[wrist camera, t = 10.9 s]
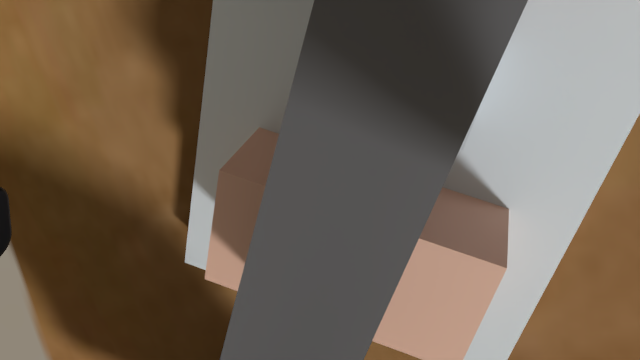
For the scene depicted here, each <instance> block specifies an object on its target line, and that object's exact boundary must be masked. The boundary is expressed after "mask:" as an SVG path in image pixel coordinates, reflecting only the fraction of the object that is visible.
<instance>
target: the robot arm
mask: <svg viewBox="0 0 640 360" xmlns="http://www.w3.org/2000/svg"><path fill="white" fill-rule="evenodd" d="M10 239H11V220H10V209H9V198H8V194H7V192H6V191H5V189H3V188H2V187H0V256H1V255H2V254H3V253H4V251H5V250H6V248H7V247H8V245H9V242H10Z"/></svg>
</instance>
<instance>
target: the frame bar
mask: <svg viewBox="0 0 640 360" xmlns="http://www.w3.org/2000/svg"><path fill="white" fill-rule="evenodd" d="M527 1H528V0H314V3H313V7H312V11H311V15H310V18H309V22H308V26H307V30H306V34H305V37H304V41H303V45H302V49H301V53H300V56H299V60H298V64H297V68H296V72H295V75H294V79H293V83H292V87H291V91H290V94H289V98H288V102H287V106H286V110H285V113H284V117H283V121H282V125H281V129H280V132H279V136H278V140H277V144H276V148H275V151H274V155H273V159H272V163H271V167H270V170H269V174H268V178H267V182H266V186H265V189H264V193H263V197H262V201H261V205H260V208H259V212H258V216H257V220H256V224H255V227H254V231H253V235H252V239H251V243H250V246H249V250H248V254H247V258H246V262H245V265H244V269H243V273H242V277H241V281H240V284H239V288H238V292H237V296H236V300H235V303H234V307H233V311H232V315H231V319H230V322H229V326H228V330H227V334H226V338H225V341H224V345H223V349H222V353H221V357H220V360H364V357H365V355H366V353H367V351H368V349H369V346H370V344H371V342H372V340H373V338H374V336H375V333H376V331H377V329H378V327H379V325H380V322H381V320H382V318H383V316H384V314H385V312H386V309H387V307H388V305H389V303H390V301H391V298H392V296H393V294H394V292H395V290H396V288H397V285H398V283H399V281H400V279H401V277H402V274H403V272H404V270H405V268H406V266H407V263H408V261H409V259H410V257H411V255H412V253H413V250H414V248H415V246H416V244H417V242H418V239H419V237H420V235H421V233H422V231H423V229H424V226H425V224H426V222H427V220H428V218H429V215H430V213H431V211H432V209H433V207H434V205H435V202H436V200H437V198H438V196H439V194H440V191H441V189H442V187H443V185H444V183H445V181H446V178H447V176H448V174H449V172H450V170H451V167H452V165H453V163H454V161H455V159H456V156H457V154H458V152H459V150H460V148H461V146H462V143H463V141H464V139H465V137H466V135H467V132H468V130H469V128H470V126H471V124H472V122H473V119H474V117H475V115H476V113H477V111H478V108H479V106H480V104H481V102H482V100H483V98H484V95H485V93H486V91H487V89H488V87H489V84H490V82H491V80H492V78H493V76H494V74H495V71H496V69H497V67H498V65H499V63H500V60H501V58H502V56H503V54H504V52H505V50H506V47H507V45H508V43H509V41H510V39H511V36H512V34H513V32H514V30H515V28H516V25H517V23H518V21H519V19H520V17H521V15H522V12H523V10H524V8H525V6H526V4H527Z"/></svg>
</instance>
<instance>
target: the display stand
mask: <svg viewBox="0 0 640 360" xmlns="http://www.w3.org/2000/svg"><path fill="white" fill-rule="evenodd" d="M313 3H314V0H213V6H212V15H211V24H210V33H209V42H208V52H207V61H206V70H205V79H204V88H203V98H202V107H201V116H200V125H199V134H198V143H197V153H196V162H195V171H194V180H193V189H192V199H191V208H190V217H189V226H188V235H187V245H186V254H185V263H187V264H190V265H193V266H196V267H198V268H201V269H204V270H206V273H205V279H206V280H209V281H211V282H214V283H217V284H219V285H222V286H225V287H227V288H230V289H233V290H236V291H238V288H239V284H240V281H241V277H242V273H243V269H244V265H245V262H246V258H247V254H248V250H249V246H250V243H251V239H252V235H253V231H254V227H255V224H256V220H257V216H258V212H259V208H260V205H261V201H262V197H263V193H264V189H265V186H266V182H267V178H268V174H269V170H270V167H271V163H272V159H273V155H274V151H275V148H276V144H277V140H278V136H279V132H280V129H281V125H282V121H283V117H284V113H285V110H286V106H287V102H288V98H289V94H290V91H291V87H292V83H293V79H294V75H295V72H296V68H297V64H298V60H299V56H300V53H301V49H302V45H303V41H304V37H305V34H306V30H307V26H308V22H309V18H310V15H311V11H312V7H313ZM639 114H640V0H528V1H527V4H526V6H525V8H524V10H523V12H522V15H521V17H520V19H519V21H518V23H517V25H516V28H515V30H514V32H513V34H512V36H511V39H510V41H509V43H508V45H507V47H506V50H505V52H504V54H503V56H502V58H501V60H500V63H499V65H498V67H497V69H496V71H495V74H494V76H493V78H492V80H491V82H490V84H489V87H488V89H487V91H486V93H485V95H484V98H483V100H482V102H481V104H480V106H479V108H478V111H477V113H476V115H475V117H474V119H473V122H472V124H471V126H470V128H469V130H468V132H467V135H466V137H465V139H464V141H463V143H462V146H461V148H460V150H459V152H458V154H457V156H456V159H455V161H454V163H453V165H452V167H451V170H450V172H449V174H448V176H447V178H446V181H445V183H444V185H443V187H442V189H441V191H440V194H439V196H438V198H437V200H436V202H435V205H434V207H433V209H432V211H431V213H430V215H429V218H428V220H427V222H426V224H425V226H424V229H423V231H422V233H421V235H420V237H419V239H418V242H417V244H416V246H415V248H414V250H413V253H412V255H411V257H410V259H409V261H408V263H407V266H406V268H405V270H404V272H403V274H402V277H401V279H400V281H399V283H398V285H397V288H396V290H395V292H394V294H393V296H392V298H391V301H390V303H389V305H388V307H387V309H386V312H385V314H384V316H383V318H382V320H381V322H380V325H379V327H378V329H377V331H376V333H375V336H374V338H373V340H372V341H374V342H376V343H379V344H382V345H384V346H387V347H390V348H393V349H395V350H398V351H401V352H403V353H406V354H409V355H412V356H414V357H417V358H420V359H422V360H507V359H508V357H509V355H510V353H511V352H512V350H513V348H514V346H515V344H516V342H517V340H518V339H519V337H520V335H521V333H522V331H523V329H524V327H525V326H526V324H527V322H528V320H529V318H530V316H531V314H532V313H533V311H534V309H535V307H536V305H537V303H538V301H539V300H540V298H541V296H542V294H543V292H544V290H545V288H546V287H547V285H548V283H549V281H550V279H551V277H552V275H553V274H554V272H555V270H556V268H557V266H558V264H559V262H560V261H561V259H562V257H563V255H564V253H565V251H566V249H567V248H568V246H569V244H570V242H571V240H572V238H573V236H574V235H575V233H576V231H577V229H578V227H579V225H580V223H581V221H582V220H583V218H584V216H585V214H586V212H587V210H588V208H589V207H590V205H591V203H592V201H593V199H594V197H595V195H596V194H597V192H598V190H599V188H600V186H601V184H602V182H603V181H604V179H605V177H606V175H607V173H608V171H609V169H610V168H611V166H612V164H613V162H614V160H615V158H616V156H617V155H618V153H619V151H620V149H621V147H622V145H623V143H624V142H625V140H626V138H627V136H628V134H629V132H630V130H631V129H632V127H633V125H634V123H635V121H636V119H637V117H638V116H639Z"/></svg>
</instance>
